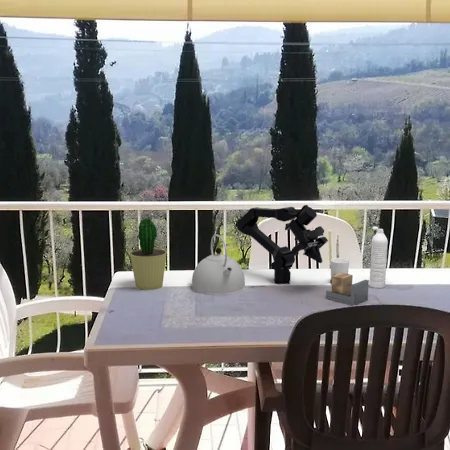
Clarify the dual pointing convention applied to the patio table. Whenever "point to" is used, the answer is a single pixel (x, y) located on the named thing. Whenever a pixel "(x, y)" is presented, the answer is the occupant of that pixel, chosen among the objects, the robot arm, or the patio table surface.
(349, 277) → the tan box
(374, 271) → the water bottle
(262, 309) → the patio table surface
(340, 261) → the white cup
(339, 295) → the grey open holder
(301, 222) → the robot arm
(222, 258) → the kettle
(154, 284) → the potted cactus
